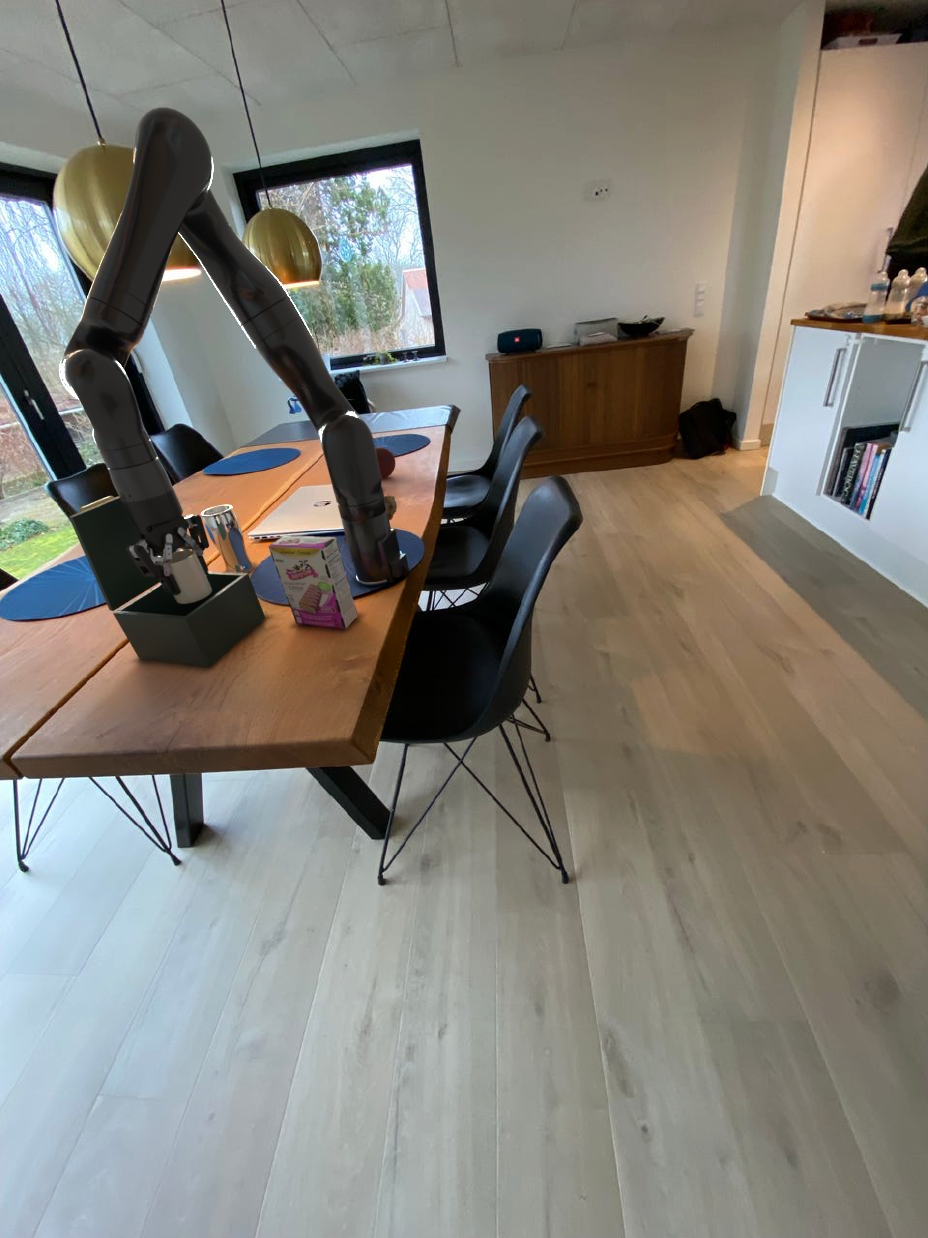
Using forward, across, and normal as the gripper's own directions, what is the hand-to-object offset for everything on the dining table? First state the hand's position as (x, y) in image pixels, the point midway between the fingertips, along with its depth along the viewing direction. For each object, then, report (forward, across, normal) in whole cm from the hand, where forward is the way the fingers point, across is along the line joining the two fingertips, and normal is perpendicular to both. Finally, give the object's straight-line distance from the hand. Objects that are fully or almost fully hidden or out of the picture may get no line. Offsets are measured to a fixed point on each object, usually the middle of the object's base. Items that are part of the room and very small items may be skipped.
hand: (189, 584), depth 89 cm
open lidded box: (+12, 0, +2) cm, 12 cm away
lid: (-7, 0, +9) cm, 11 cm away
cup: (+2, 0, 0) cm, 2 cm away
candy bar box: (+12, +8, -19) cm, 24 cm away
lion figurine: (+12, +48, -9) cm, 51 cm away
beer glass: (+12, +26, +16) cm, 33 cm away
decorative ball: (+12, +94, +11) cm, 96 cm away
